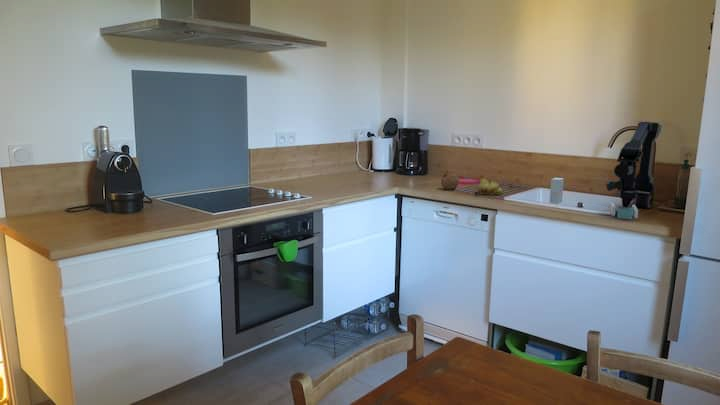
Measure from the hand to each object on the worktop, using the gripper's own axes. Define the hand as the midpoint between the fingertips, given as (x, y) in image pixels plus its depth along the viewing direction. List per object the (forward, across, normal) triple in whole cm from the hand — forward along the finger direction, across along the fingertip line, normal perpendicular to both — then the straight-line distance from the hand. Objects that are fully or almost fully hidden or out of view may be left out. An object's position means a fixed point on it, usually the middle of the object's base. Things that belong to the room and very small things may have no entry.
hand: (624, 210), depth 227 cm
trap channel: (+2, -3, 0) cm, 4 cm away
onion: (+2, -28, -84) cm, 89 cm away
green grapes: (+3, -24, -62) cm, 67 cm away
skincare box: (+2, -16, -29) cm, 33 cm away
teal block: (+2, +4, 0) cm, 5 cm away
